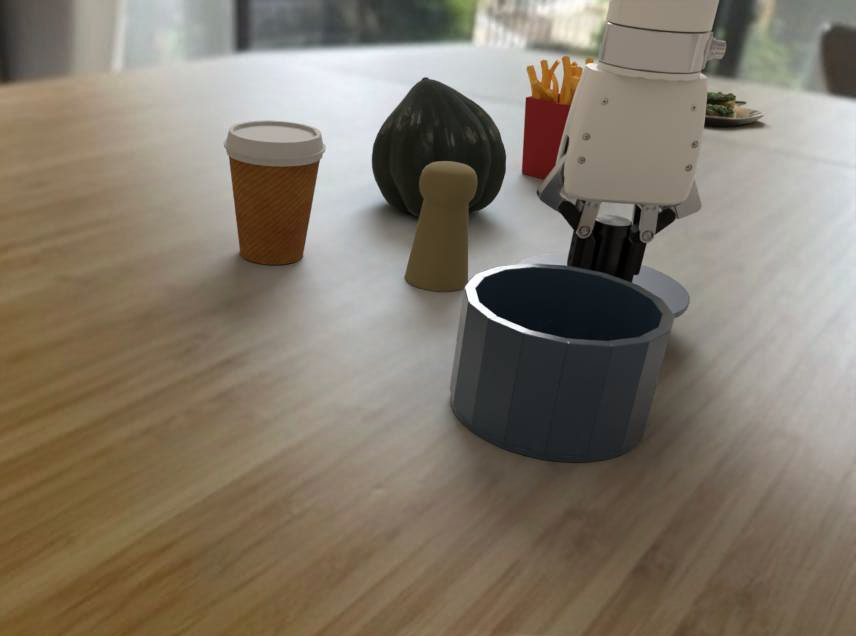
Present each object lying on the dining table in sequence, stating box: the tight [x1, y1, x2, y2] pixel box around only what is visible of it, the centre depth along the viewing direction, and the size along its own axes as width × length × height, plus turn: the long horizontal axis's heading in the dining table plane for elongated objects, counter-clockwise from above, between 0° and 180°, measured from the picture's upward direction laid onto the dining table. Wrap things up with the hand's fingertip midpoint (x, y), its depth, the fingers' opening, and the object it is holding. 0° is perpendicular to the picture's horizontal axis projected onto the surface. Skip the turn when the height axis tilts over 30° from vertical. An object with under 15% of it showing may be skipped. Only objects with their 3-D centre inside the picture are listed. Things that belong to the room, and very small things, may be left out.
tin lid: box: [515, 214, 691, 320], centre depth 76 cm, size 15×15×7 cm
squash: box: [371, 76, 507, 218], centre depth 102 cm, size 14×15×15 cm
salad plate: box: [704, 91, 764, 128], centre depth 161 cm, size 19×18×5 cm
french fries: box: [521, 55, 595, 180], centre depth 119 cm, size 9×8×15 cm
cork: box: [404, 161, 478, 293], centre depth 83 cm, size 6×6×11 cm
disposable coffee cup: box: [223, 120, 327, 266], centre depth 87 cm, size 10×10×12 cm
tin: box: [449, 263, 676, 463], centre depth 63 cm, size 14×14×8 cm
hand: (600, 278), depth 77 cm, fingers closed on tin lid, 3 cm apart
